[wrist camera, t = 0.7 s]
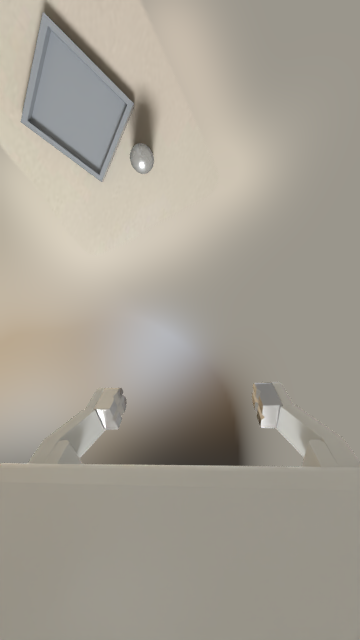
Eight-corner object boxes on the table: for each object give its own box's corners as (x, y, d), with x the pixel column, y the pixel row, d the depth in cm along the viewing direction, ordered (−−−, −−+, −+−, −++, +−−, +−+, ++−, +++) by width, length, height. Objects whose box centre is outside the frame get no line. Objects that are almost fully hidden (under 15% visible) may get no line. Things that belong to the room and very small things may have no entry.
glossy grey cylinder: (129, 164, 39) (125, 162, 33) (138, 143, 37) (137, 136, 31) (146, 178, 41) (146, 179, 34) (156, 159, 39) (158, 155, 33)
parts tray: (25, 124, 34) (20, 122, 32) (48, 20, 28) (43, 11, 26) (103, 181, 40) (101, 181, 39) (134, 106, 34) (133, 103, 33)
